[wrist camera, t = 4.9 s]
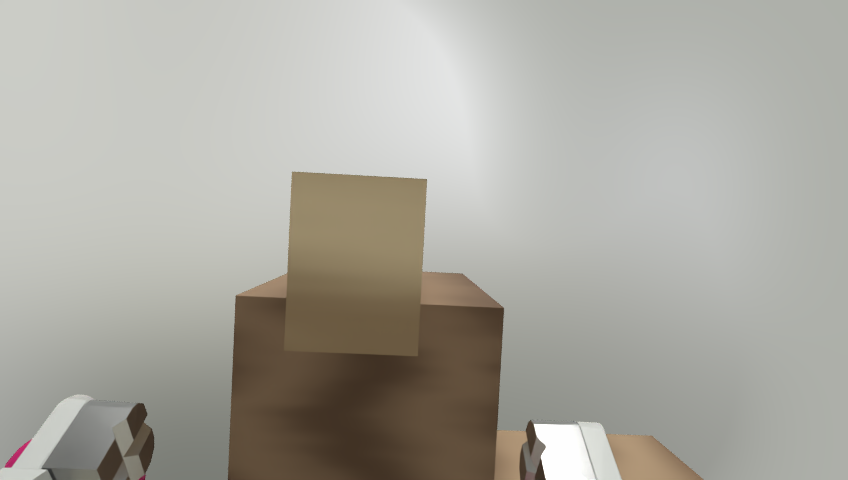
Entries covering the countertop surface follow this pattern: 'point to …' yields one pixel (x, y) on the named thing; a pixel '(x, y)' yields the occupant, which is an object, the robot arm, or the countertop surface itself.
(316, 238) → the tan rectangular block
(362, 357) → the step shelf
